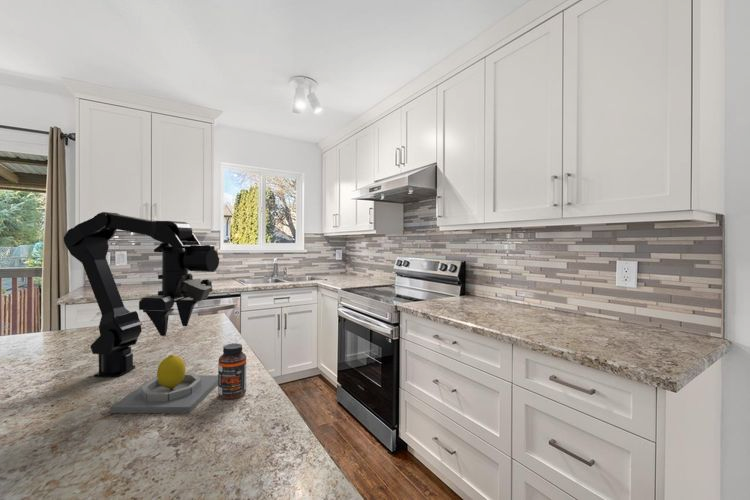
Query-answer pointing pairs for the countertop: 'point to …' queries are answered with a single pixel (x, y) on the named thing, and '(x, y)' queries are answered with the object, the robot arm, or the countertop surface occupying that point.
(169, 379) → the lemon
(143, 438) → the countertop surface
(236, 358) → the supplement bottle
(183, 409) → the ring plate
